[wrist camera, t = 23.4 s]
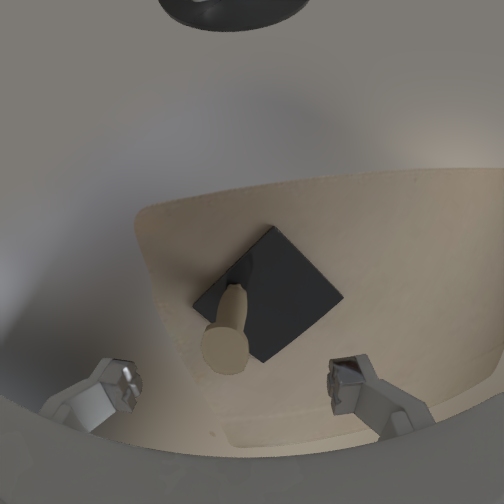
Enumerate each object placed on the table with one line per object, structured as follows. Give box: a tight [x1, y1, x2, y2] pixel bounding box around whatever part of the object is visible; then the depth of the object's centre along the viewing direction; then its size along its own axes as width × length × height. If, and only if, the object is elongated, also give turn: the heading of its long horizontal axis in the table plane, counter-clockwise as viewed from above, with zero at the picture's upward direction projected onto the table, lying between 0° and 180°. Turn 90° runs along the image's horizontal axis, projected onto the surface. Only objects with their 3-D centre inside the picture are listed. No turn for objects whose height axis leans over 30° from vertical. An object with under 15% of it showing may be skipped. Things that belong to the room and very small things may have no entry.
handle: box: [201, 284, 249, 375], centre depth 34 cm, size 5×6×15 cm
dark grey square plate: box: [193, 226, 344, 363], centre depth 42 cm, size 16×18×1 cm
